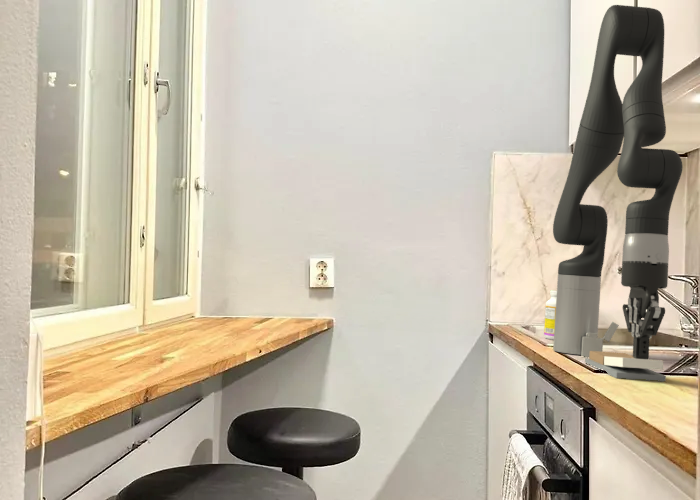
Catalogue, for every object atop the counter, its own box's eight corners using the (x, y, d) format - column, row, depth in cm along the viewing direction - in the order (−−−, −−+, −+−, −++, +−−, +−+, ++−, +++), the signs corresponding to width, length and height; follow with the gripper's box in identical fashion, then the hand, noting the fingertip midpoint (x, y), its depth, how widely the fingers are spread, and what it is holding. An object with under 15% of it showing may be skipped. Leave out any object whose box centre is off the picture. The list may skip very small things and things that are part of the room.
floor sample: (584, 363, 137) (585, 350, 137) (627, 366, 137) (628, 353, 137) (616, 378, 120) (617, 363, 120) (665, 381, 120) (666, 366, 120)
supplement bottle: (569, 339, 184) (572, 291, 184) (570, 341, 178) (573, 292, 178) (543, 336, 186) (546, 289, 186) (543, 339, 179) (546, 290, 180)
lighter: (581, 357, 147) (583, 319, 147) (581, 356, 149) (583, 319, 149) (616, 360, 145) (619, 322, 145) (616, 359, 147) (618, 322, 147)
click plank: (604, 364, 128) (604, 356, 128) (641, 367, 128) (641, 358, 128) (622, 367, 119) (622, 357, 120) (663, 369, 119) (663, 360, 119)
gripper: (610, 260, 128) (605, 353, 127) (639, 258, 115) (634, 362, 114) (650, 263, 128) (646, 356, 127) (684, 261, 115) (679, 365, 114)
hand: (640, 359), depth 121 cm, fingers closed
